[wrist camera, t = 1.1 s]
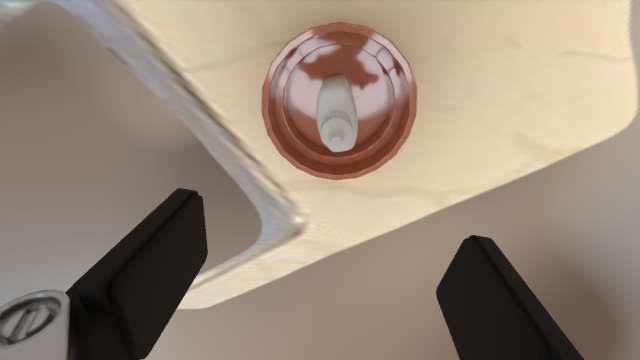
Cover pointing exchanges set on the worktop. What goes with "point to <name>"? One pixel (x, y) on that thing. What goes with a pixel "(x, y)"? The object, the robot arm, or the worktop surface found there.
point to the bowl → (368, 91)
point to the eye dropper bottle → (336, 114)
